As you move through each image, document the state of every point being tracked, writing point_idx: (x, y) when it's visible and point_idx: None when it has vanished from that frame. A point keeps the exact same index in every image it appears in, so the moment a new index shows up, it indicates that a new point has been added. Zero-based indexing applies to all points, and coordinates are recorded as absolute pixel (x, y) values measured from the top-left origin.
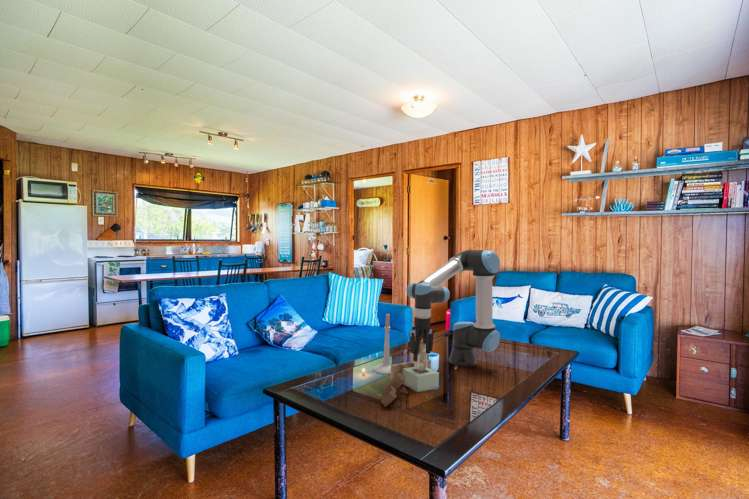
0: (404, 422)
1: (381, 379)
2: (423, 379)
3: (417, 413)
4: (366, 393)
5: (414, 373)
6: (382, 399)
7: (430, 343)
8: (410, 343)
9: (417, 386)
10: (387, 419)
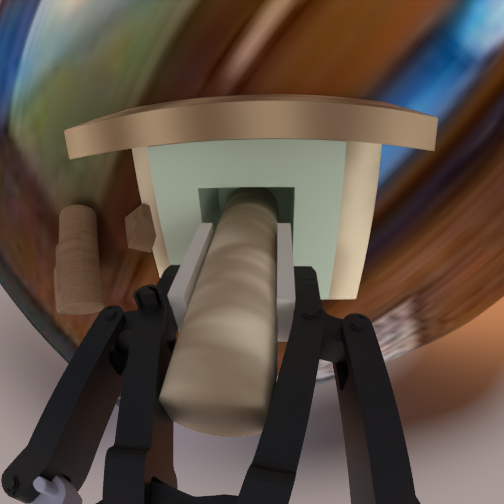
0: None
1: (132, 17)
2: None
3: None
4: (35, 161)
5: (181, 253)
6: (54, 277)
7: (344, 420)
8: (65, 387)
9: None
10: (72, 318)
